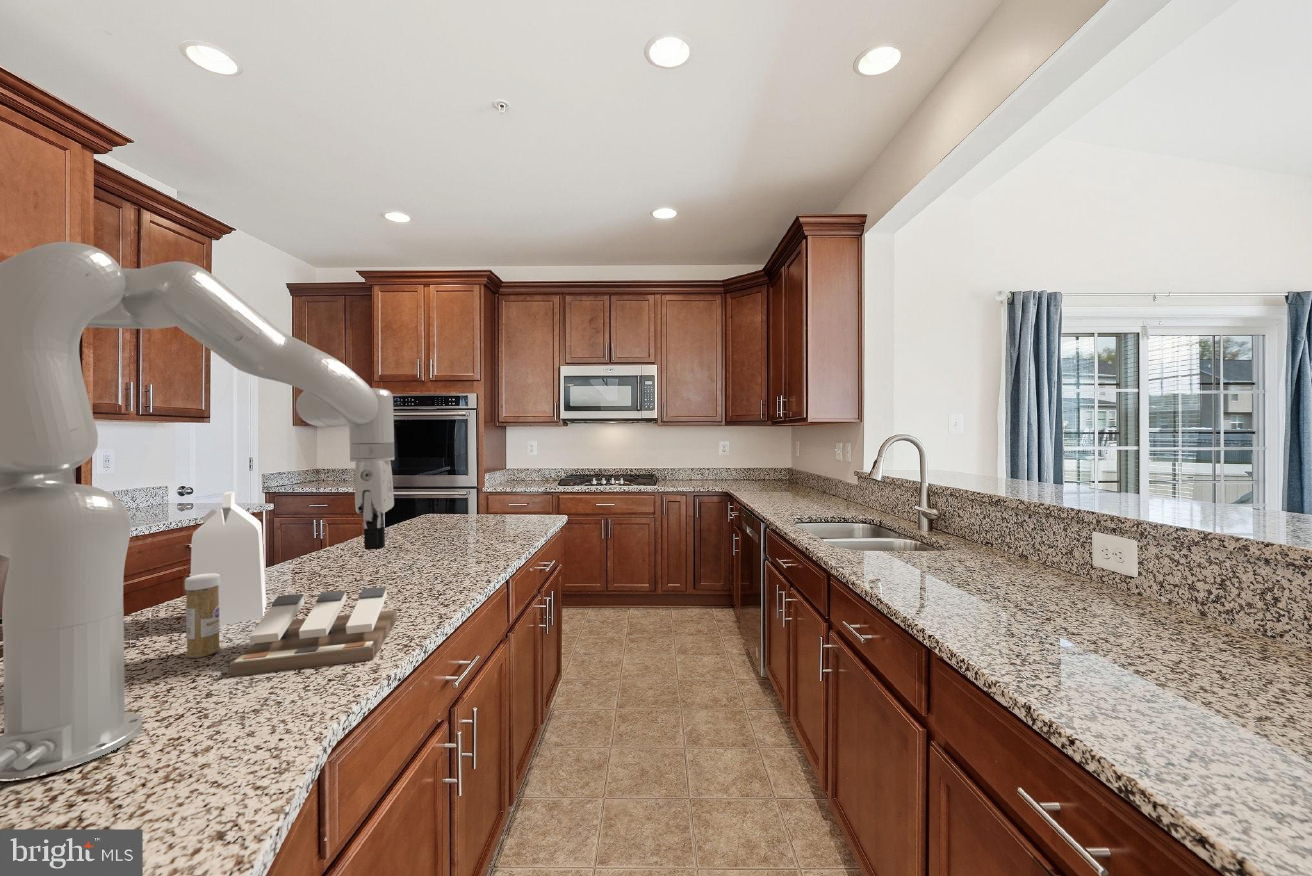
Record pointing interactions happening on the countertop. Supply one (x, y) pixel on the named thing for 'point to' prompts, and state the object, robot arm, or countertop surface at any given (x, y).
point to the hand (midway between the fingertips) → (374, 548)
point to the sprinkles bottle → (202, 615)
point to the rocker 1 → (277, 619)
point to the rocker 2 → (366, 610)
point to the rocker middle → (323, 614)
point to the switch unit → (315, 647)
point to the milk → (232, 560)
